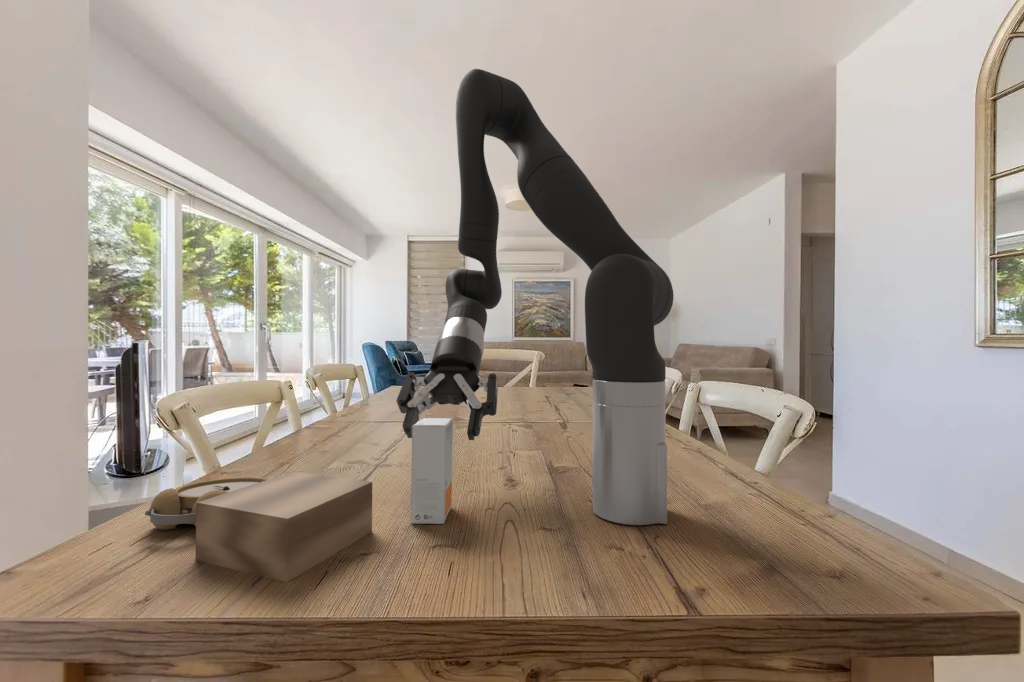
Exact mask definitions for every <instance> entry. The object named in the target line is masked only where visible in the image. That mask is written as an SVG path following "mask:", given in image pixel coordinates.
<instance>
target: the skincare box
mask: <svg viewBox="0 0 1024 682" xmlns="http://www.w3.org/2000/svg"><path fill="white" fill-rule="evenodd" d="M453 419H454V418H452V417H451V418H450V417H449V418H448V417H447V418H445V417H444V418H442V417H438V418H437V417H434V418H433V417H424V418H422V419H419V421H418V422H417V423H416V424H414V425H413V426H412V438H411V472H410V473H411V477H410V479H411V484H410V485H411V487H410V523H411V524H417V525H418V524H419V525H420V524H424V525H426V524H430V525H431V524H433V525H444V524H445V522H446V519H447V517H448V514H449V512H450V511H451V509H452V502H453V501H452V500H453V498H452V496H453V495H452V491H453V488H452V487H453V435H454V434H453V427H454V426H453V425H454V424H453V423H454V421H453Z"/></svg>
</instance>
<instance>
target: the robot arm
mask: <svg viewBox="0 0 1024 682" xmlns="http://www.w3.org/2000/svg"><path fill="white" fill-rule="evenodd" d="M455 129H456V140H457V141H456V143H457V154H458V155H457V159H458V168H459V182H460V184H459V185H460V214H459V225H458V226H459V228H458V238H457V239H458V242H457V250H458V252H459V254H461V255H462V256H465V257H468V258H471V259H474V260H476V261H478V262H479V263H481V265H482V267H483V269H484V270H478V269H477V270H476V269H475V270H474V269H467V268H456V269H453V270H452V271H451V272H449V274H448V275H447V277H446V280H445V296H446V301H447V312H446V316H445V320H444V323H443V327H442V329H441V331H440V333H439V336H438V339H437V342H436V345H435V348H434V349H435V350H434V353H433V357H432V359H431V362H430V363H431V364H430V367H429V371H428V373H427V374H426V375H424V376H416V374H415V373H414V372H413V371H411V372H408V373H406V376H405V379H404V381H403V382H402V383H403V384H402V386H401V388H400V391H399V392H398V395H397V398H396V404H397V406H398V409H399V411H400V413H401V414H405V416H404V419H403V422H402V429H403V432H404V434H405V435H406V437H407V438H408V439H412V426H413V425H414V424H416V423H417V422H418V421H419V420H420V415H422V413H424V412H425V411H426V410H430V409H432V408H433V407H434V406H435V405H436V404H438V405H448V404H450V405H453V406H456V405H457V406H460V404H462V403H463V404H464V405H465V407H466V408H467V410H468V411H470V413H469V419H468V424H467V430H466V434H467V438H468V441H475V438H476V437H479V435H480V433H481V429H482V428H481V427H482V420H483V418H484V417H486V416H490V417H491V416H495V415H496V414H497V412H498V411H497V408H498V406H497V405H498V389H499V388H498V387H499V386H498V378H497V374H495V373H490V374H489V375H488V376H487V377H479V376H480V375H479V374H480V369H481V364H482V357H483V354H484V351H485V350H484V345H485V332H486V326H487V322H488V321H487V320H488V313H487V310H492V309H495V308H496V307H497V306H498V304H499V303H500V301H501V299H502V292H503V291H502V284H501V282H502V281H501V279H500V273H499V267H498V259H497V245H498V244H497V241H498V232H499V222H500V221H499V220H500V210H499V204H498V203H499V202H498V198H497V195H496V192H495V190H494V187H493V184H492V181H491V179H490V178H491V177H490V175H489V171H488V168H487V163H486V158H485V151H484V150H485V135H486V136H489V137H493V138H496V139H498V140H500V141H501V142H503V143H504V144H505V145H506V146H507V148H509V149H510V151H511V152H512V153H513V155H514V156H515V157H516V160H517V161H518V162H517V170H516V171H517V172H516V173H517V174H516V175H517V176H516V177H517V185H518V189H519V191H520V194H521V195H522V197H523V199H524V201H525V202H526V203H527V205H528V207H529V208H530V209H531V211H532V212H533V214H534V215H535V216H536V218H537V219H538V220H539V221H540V222H541V224H542V225H543V226H544V227H545V228H546V229H547V230H548V231H549V232H550V233H551V234H552V235H554V236H555V238H557V239H558V240H559V241H560V242H561V243H563V244H564V245H565V246H566V247H567V248H569V249H570V250H571V251H572V252H573V253H574V254H576V255H577V256H578V257H579V258H580V259H581V260H582V261H583V262H584V263H585V264H586V265H587V267H588V268H589V270H590V271H591V272H590V273H589V276H588V278H587V281H586V286H585V291H584V292H585V293H584V321H585V322H584V324H585V325H584V326H585V342H586V352H587V354H586V355H587V357H588V360H589V362H590V365H591V367H592V369H591V370H592V433H591V434H592V440H591V441H592V443H591V444H592V463H591V464H592V465H591V466H592V472H591V473H592V484H591V485H592V489H591V490H592V492H591V493H592V494H591V496H592V497H591V498H592V512H593V513H594V514H595V515H596V516H598V517H600V518H601V519H604V520H606V521H609V522H613V523H616V524H622V525H629V526H646V525H648V526H649V525H654V524H663V525H666V524H668V446H667V443H666V441H667V437H666V431H667V430H666V429H667V428H666V420H667V419H666V410H667V409H666V406H667V405H666V380H667V379H666V378H667V377H666V362H665V359H664V358H663V357H662V355H661V354H660V352H659V350H658V348H657V344H656V338H655V326H657V325H659V324H661V323H662V322H663V321H664V320H665V319H666V318H667V317H668V316H669V314H670V312H671V310H672V307H673V304H674V289H673V285H672V281H671V279H670V277H669V276H668V274H667V272H666V271H665V270H664V269H663V268H662V267H661V266H660V265H659V264H658V263H657V262H655V261H654V260H653V259H652V257H651V256H649V255H648V254H647V253H646V252H645V250H644V249H642V248H641V247H640V246H639V245H638V244H637V242H635V241H634V240H633V238H632V237H630V235H629V234H628V233H627V232H626V230H625V229H624V228H623V227H622V226H621V224H620V223H619V221H618V220H617V219H616V217H615V216H614V213H613V212H612V211H611V210H610V208H609V206H608V205H607V203H606V202H605V201H604V199H603V198H602V197H601V195H600V193H598V191H597V189H595V187H594V185H593V184H592V183H591V181H590V180H589V178H588V177H587V176H586V174H585V173H584V171H583V170H582V169H581V168H580V167H579V166H578V164H577V162H575V161H574V159H573V158H572V157H571V156H570V155H569V154H568V152H567V151H566V150H565V149H564V147H562V145H561V144H560V142H559V141H558V140H557V139H556V137H555V136H554V135H553V134H552V132H550V130H549V129H548V128H547V126H545V123H543V120H542V119H541V117H540V115H539V114H538V112H537V111H536V109H535V108H534V105H533V104H532V102H531V101H530V99H529V97H528V96H527V94H526V92H525V91H524V90H523V89H522V87H521V86H520V85H519V84H518V83H516V82H515V81H513V80H511V79H509V78H507V77H503V76H501V75H498V74H495V73H492V72H490V71H486V70H484V69H481V68H473V69H470V70H468V71H467V72H466V73H465V74H464V75H463V77H462V78H461V80H460V83H459V84H458V89H457V92H456V98H455ZM421 387H422V388H421ZM480 387H481V388H483V391H484V392H485V393H486V401H485V402H481V401H480V400H479V399H478V397H477V396H476V394H475V393H476V392H477V391H478V390H479V389H480ZM416 393H418V394H416ZM415 394H416V396H415ZM430 396H431V397H430Z"/></svg>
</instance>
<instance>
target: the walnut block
mask: <svg viewBox="0 0 1024 682" xmlns="http://www.w3.org/2000/svg"><path fill="white" fill-rule="evenodd" d="M268 479H269V480H266V481H262V482H259V483H256V484H253V485H250V486H247V487H244V488H240V489H237V490H234V491H231V492H228V493H225V494H222V495H218V496H215V497H212V498H209V499H206V500H203V501H200V502H197V503H196V526H195V561H199V562H203V563H205V564H209V565H210V564H211V565H214V566H219V567H223V568H226V569H230V570H235V571H239V572H243V573H247V574H251V575H255V576H260V577H262V578H267V579H271V580H276V581H280V582H282V583H283V582H284V583H288V582H290V581H292V580H293V579H295V578H297V577H298V576H300V575H301V574H303V573H305V572H307V571H308V570H310V569H312V568H313V567H315V566H317V565H319V564H320V563H322V562H323V561H325V560H327V559H329V558H330V557H332V556H333V555H335V554H337V553H338V552H340V551H342V550H343V549H346V547H349V546H351V545H352V544H354V543H355V542H357V541H359V540H360V539H362V538H363V537H365V536H367V535H369V534H371V533H372V532H373V481H369V480H368V481H367V480H360V479H354V478H353V479H352V478H344V477H336V476H332V475H331V476H330V475H321V474H315V473H307V472H298V471H291V472H287V473H285V474H282V475H278V476H276V477H273V478H268Z"/></svg>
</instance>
